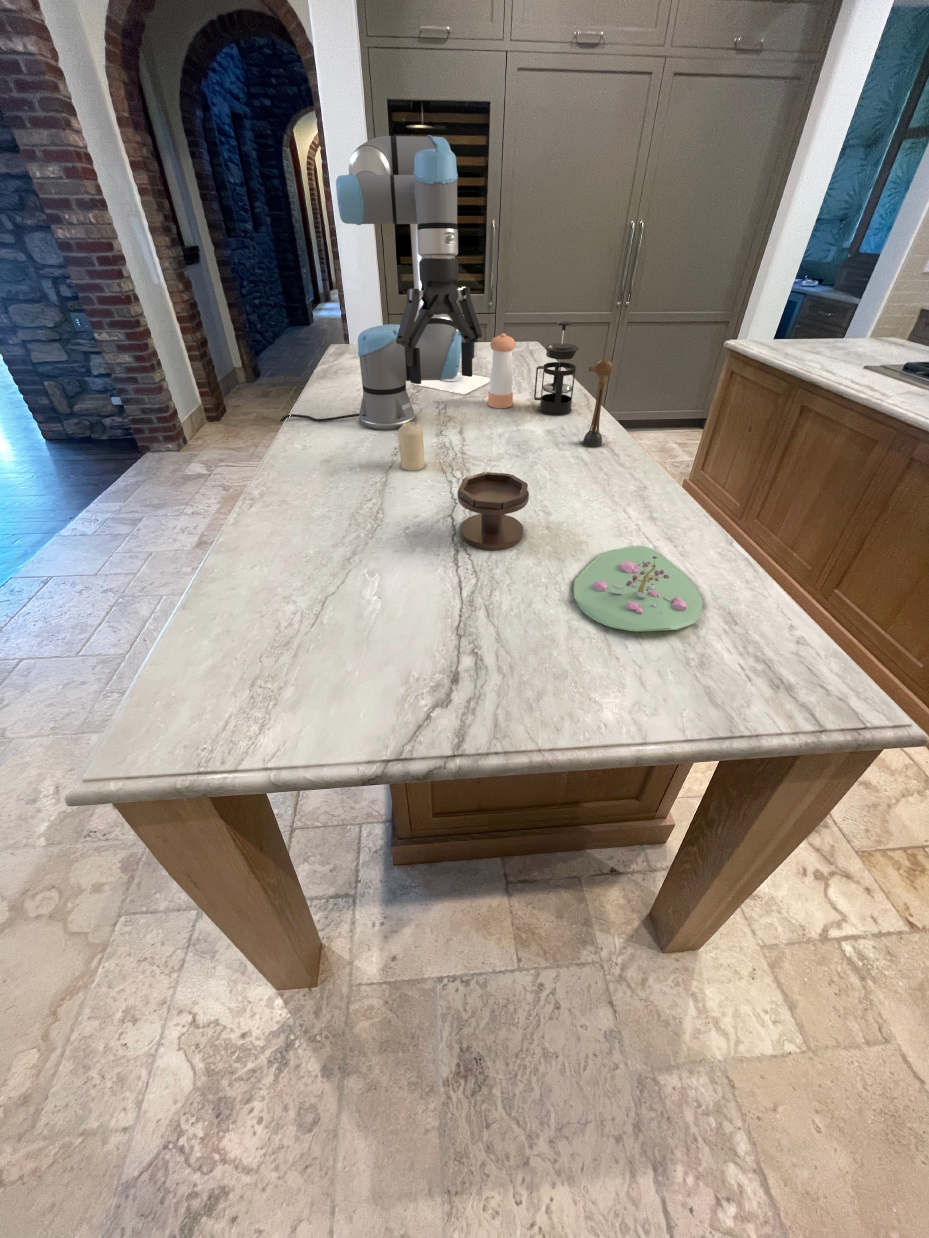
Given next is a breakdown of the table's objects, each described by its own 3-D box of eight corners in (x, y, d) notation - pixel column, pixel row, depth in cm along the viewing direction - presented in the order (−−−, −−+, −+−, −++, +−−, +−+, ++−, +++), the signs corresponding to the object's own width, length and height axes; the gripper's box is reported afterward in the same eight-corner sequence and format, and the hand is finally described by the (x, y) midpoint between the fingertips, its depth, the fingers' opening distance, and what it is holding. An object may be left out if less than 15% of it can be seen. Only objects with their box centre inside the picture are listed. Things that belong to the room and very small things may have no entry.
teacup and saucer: (469, 378, 181) (469, 365, 178) (457, 384, 176) (456, 370, 173) (448, 374, 185) (448, 361, 182) (435, 379, 179) (434, 367, 177)
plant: (565, 546, 99) (572, 501, 93) (679, 550, 98) (692, 506, 92) (578, 635, 80) (587, 586, 74) (719, 641, 79) (739, 593, 73)
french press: (571, 405, 160) (582, 318, 145) (575, 416, 153) (587, 326, 138) (532, 404, 161) (539, 318, 146) (533, 415, 153) (541, 325, 139)
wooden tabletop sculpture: (581, 447, 135) (593, 362, 122) (576, 440, 139) (588, 357, 126) (604, 447, 135) (618, 362, 123) (599, 440, 139) (612, 356, 126)
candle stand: (451, 547, 99) (450, 499, 92) (464, 514, 108) (464, 468, 102) (521, 555, 97) (525, 506, 90) (528, 520, 107) (532, 474, 100)
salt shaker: (512, 400, 163) (516, 331, 151) (511, 408, 157) (516, 336, 145) (488, 400, 164) (491, 330, 151) (487, 407, 158) (489, 336, 146)
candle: (421, 471, 124) (418, 428, 117) (398, 469, 125) (394, 427, 118) (427, 462, 128) (425, 420, 122) (404, 460, 129) (401, 418, 122)
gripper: (394, 256, 92) (403, 388, 104) (500, 258, 105) (497, 375, 117) (371, 258, 97) (382, 384, 108) (475, 259, 110) (475, 371, 122)
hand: (442, 379), depth 113 cm, fingers open, 13 cm apart
